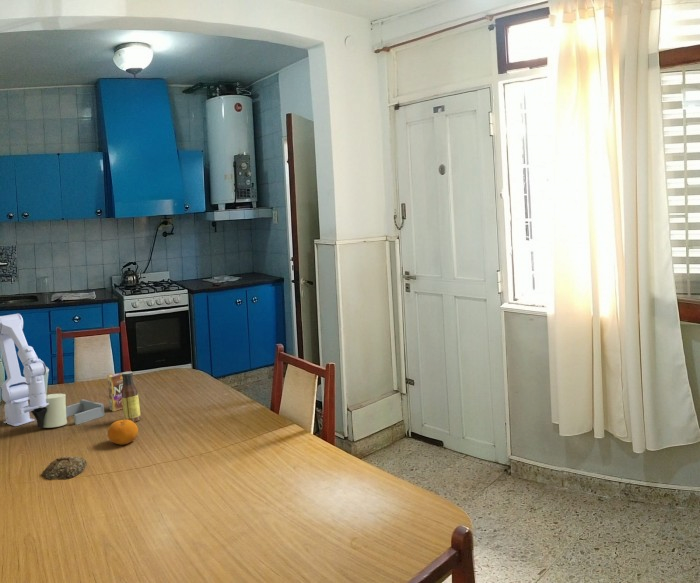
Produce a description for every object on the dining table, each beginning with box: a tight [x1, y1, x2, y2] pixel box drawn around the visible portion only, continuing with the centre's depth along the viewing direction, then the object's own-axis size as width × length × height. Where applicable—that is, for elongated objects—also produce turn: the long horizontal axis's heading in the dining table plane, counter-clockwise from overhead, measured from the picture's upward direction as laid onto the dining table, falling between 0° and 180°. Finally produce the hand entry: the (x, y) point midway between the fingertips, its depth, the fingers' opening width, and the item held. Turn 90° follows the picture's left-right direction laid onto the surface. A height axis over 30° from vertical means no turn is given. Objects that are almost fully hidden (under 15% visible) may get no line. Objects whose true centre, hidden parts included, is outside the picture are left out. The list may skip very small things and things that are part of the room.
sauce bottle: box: [121, 371, 141, 423], centre depth 249 cm, size 7×6×20 cm
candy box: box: [107, 372, 123, 412], centre depth 266 cm, size 9×4×15 cm, turn 134°
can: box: [43, 393, 68, 429], centre depth 247 cm, size 9×9×12 cm
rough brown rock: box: [41, 455, 87, 480], centre depth 202 cm, size 13×12×5 cm
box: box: [66, 398, 105, 426], centre depth 256 cm, size 14×13×5 cm
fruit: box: [107, 418, 139, 446], centre depth 226 cm, size 10×10×8 cm
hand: (40, 426), depth 242 cm, fingers closed
